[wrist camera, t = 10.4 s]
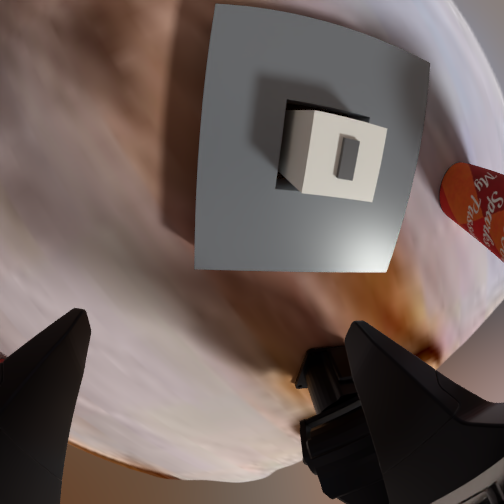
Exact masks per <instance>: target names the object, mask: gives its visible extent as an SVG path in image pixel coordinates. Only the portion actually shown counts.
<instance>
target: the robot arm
mask: <svg viewBox="0 0 504 504" xmlns="http://www.w3.org/2000/svg"><path fill="white" fill-rule="evenodd" d="M90 336H91V328H90V324H89V320H88V316H87V313H86V311H85V310H84V309H79V308H73V309H72V310H70V311H69V312H68V313H66V314H65V315H63V316H62V317H61V318H59V319H58V320H56V321H55V322H54V323H52V324H51V325H50V326H48V327H47V328H45V329H44V330H43V331H41V332H40V333H39V334H37V335H36V336H35V337H33V338H32V339H31V340H29V341H28V342H27V343H25V344H24V345H23V346H22V347H20V348H19V349H18V350H16V351H15V352H14V353H13V354H11V355H10V356H9V357H7V358H6V359H5V360H4V361H3V362H1V363H0V504H60V495H61V485H62V481H61V480H62V475H63V467H64V461H65V455H66V449H67V443H68V437H69V432H70V427H71V422H72V418H73V413H74V409H75V405H76V401H77V397H78V393H79V389H80V385H81V381H82V378H83V374H84V368H85V363H86V357H87V351H88V346H89V341H90ZM295 386H296V388H297V389H301V388H308V390H309V393H310V396H311V399H312V402H313V405H314V408H315V411H316V414H317V415H315V416H312V417H310V418H308V419H303V420H301V421H300V435H301V444H302V453H303V462H304V464H306V465H308V467H309V468H310V470H311V471H312V472H313V473H314V474H315V475H318V478H319V481H320V484H321V487H322V490H323V493H325V494H326V495H327V496H328V497H329V498H331V499H335V498H338V499H339V500H341V501H342V502H344V503H346V504H504V403H492V402H489V401H486V400H484V399H482V398H480V397H479V396H477V395H475V394H473V393H472V392H470V391H468V390H466V389H465V388H463V387H461V386H460V385H458V384H456V383H454V382H453V381H452V380H450V379H448V378H447V377H445V376H444V375H442V374H441V373H440V372H438V371H437V370H436V371H435V369H434V368H432V367H431V366H429V365H428V364H426V363H425V362H424V361H422V360H421V359H419V358H418V357H416V356H415V355H413V354H412V353H410V352H409V351H407V350H406V349H405V348H403V347H402V346H400V345H399V344H397V343H396V342H394V341H393V340H391V339H390V338H388V337H387V336H386V335H384V334H383V333H381V332H380V331H378V330H377V329H375V328H374V327H372V326H371V325H369V324H368V323H366V322H365V321H354V322H352V324H351V326H350V328H349V330H348V332H347V335H346V337H345V346H338V347H328V348H316V349H310V350H308V351H307V352H306V355H305V358H304V361H303V364H302V366H301V369H300V372H299V375H298V377H297V380H296V383H295Z"/></svg>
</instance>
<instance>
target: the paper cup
mask: <svg viewBox="0 0 504 504" xmlns="http://www.w3.org/2000/svg"><path fill="white" fill-rule="evenodd" d="M440 205H441V208H442V210H443V212H444V213H445V214H446V215H447V216H448V217H449V218H451V219H452V220H453V221H454V222H456V223H457V224H458V225H459V226H461V227H462V228H463V229H465V230H466V231H467V232H468V233H470V234H471V235H472V236H473V237H475V238H476V239H477V240H478V241H479V242H481V243H482V244H483V245H484V246H485V247H487V248H488V249H489V250H490V251H491V252H493V253H494V254H495V255H496V256H497V257H498V258H499V259H501V260H502V261H503V262H504V175H503V174H500V173H497V172H494V171H491V170H488V169H485V168H482V167H478V166H475V165H471V164H467V163H462V162H459V163H456V164H454V165H452V166H451V167H450V168H449V169H448V170H447V172H446V174H445V175H444V178H443V180H442V183H441V187H440Z"/></svg>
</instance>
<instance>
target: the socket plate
mask: <svg viewBox="0 0 504 504" xmlns="http://www.w3.org/2000/svg"><path fill="white" fill-rule="evenodd" d="M429 72H430V63H429V62H427V61H425V60H423V59H421V58H419V57H417V56H415V55H413V54H411V53H409V52H407V51H405V50H403V49H400V48H398V47H396V46H394V45H391V44H389V43H387V42H384V41H382V40H379V39H377V38H374V37H372V36H369V35H366V34H364V33H361V32H358V31H355V30H352V29H349V28H346V27H343V26H340V25H336V24H333V23H330V22H326V21H322V20H319V19H315V18H311V17H306V16H302V15H298V14H293V13H288V12H283V11H277V10H271V9H264V8H257V7H249V6H240V5H229V4H216V5H215V11H214V17H213V23H212V30H211V37H210V44H209V51H208V59H207V67H206V76H205V85H204V94H203V104H202V115H201V127H200V140H199V154H198V170H197V189H196V214H195V261H194V269H204V270H240V271H288V272H386V271H387V268H388V266H389V263H390V260H391V257H392V254H393V251H394V248H395V245H396V241H397V238H398V235H399V232H400V228H401V225H402V221H403V218H404V214H405V211H406V207H407V203H408V199H409V195H410V191H411V187H412V183H413V179H414V174H415V170H416V165H417V160H418V155H419V150H420V144H421V139H422V133H423V126H424V119H425V112H426V104H427V95H428V85H429ZM286 103H291V104H297V105H303V106H308V107H314V108H319V109H324V110H329V111H333V112H338V113H342V114H346V115H348V118H351V119H355V120H359V121H363V122H367V123H370V124H374V125H377V126H380V127H384V128H387V134H386V139H385V145H384V150H383V155H382V161H381V165H380V170H379V175H378V180H377V184H376V188H375V193H374V197H373V201H372V202H367V201H360V200H353V199H345V198H338V197H330V196H322V195H313V194H304V193H301V192H300V191H299V190H298V189H297V188H296V187H295V186H294V185H292V184H291V183H290V182H289V181H288V180H287V179H278V178H277V172H278V164H279V157H280V149H281V141H282V134H283V126H284V118H285V110H286Z"/></svg>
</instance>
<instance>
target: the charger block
mask: <svg viewBox="0 0 504 504" xmlns="http://www.w3.org/2000/svg"><path fill="white" fill-rule="evenodd" d="M386 134H387V128H384V127H380V126H377V125H374V124H370V123H367V122H363V121H359V120H355V119H351V118H347V117H343V116H339V115H335V114H331V113H326V112H321V111H316V110H285V118H284V126H283V134H282V141H281V149H280V157H279V164H278V171H279V172H280V173H281V174H282V175H283V176H284V177H285V178H286V179H287V180H288V181H289V182H290V183H291V184H292V185H294V186H295V187H296V188H297V189H298V190H299V191H300V192H301V193H304V194H313V195H322V196H330V197H338V198H345V199H353V200H360V201H367V202H372V201H373V197H374V193H375V188H376V184H377V180H378V175H379V170H380V165H381V161H382V155H383V150H384V145H385V139H386Z"/></svg>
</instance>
